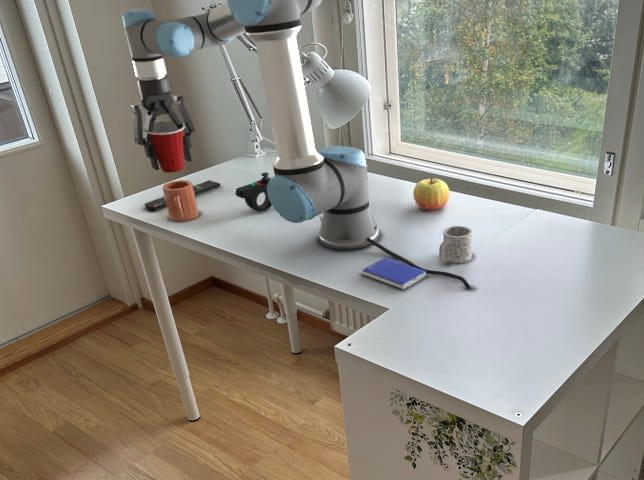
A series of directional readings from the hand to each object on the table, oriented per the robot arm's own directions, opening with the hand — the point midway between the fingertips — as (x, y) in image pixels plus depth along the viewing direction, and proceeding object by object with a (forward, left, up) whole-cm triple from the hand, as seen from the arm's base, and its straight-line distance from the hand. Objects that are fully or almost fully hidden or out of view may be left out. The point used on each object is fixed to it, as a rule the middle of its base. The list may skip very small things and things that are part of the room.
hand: (172, 164), depth 193 cm
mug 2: (-76, -33, -15) cm, 84 cm away
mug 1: (-1, +1, -15) cm, 15 cm away
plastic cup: (0, 0, -2) cm, 2 cm away
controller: (-13, -17, -15) cm, 26 cm away
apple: (-47, -52, -15) cm, 72 cm away
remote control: (+14, -7, -15) cm, 21 cm away
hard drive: (-72, -17, -15) cm, 75 cm away
